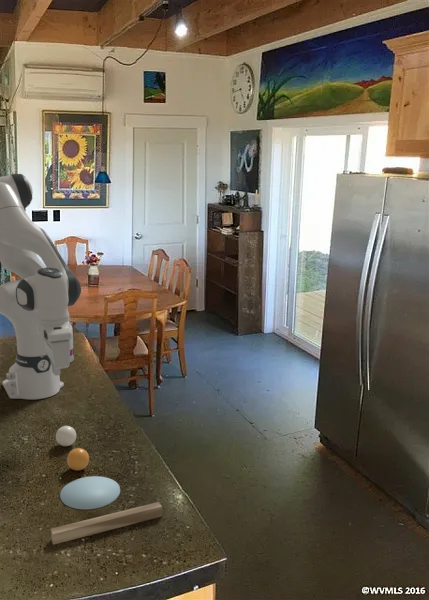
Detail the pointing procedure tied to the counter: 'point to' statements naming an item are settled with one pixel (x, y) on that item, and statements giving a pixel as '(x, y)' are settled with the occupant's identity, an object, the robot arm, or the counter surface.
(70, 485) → the blue mark
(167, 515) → the counter surface
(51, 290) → the robot arm
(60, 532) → the wooden stop rail
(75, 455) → the orange ball
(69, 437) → the ivory ball
